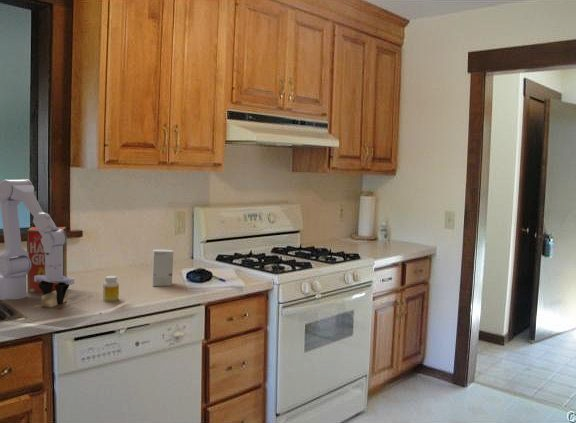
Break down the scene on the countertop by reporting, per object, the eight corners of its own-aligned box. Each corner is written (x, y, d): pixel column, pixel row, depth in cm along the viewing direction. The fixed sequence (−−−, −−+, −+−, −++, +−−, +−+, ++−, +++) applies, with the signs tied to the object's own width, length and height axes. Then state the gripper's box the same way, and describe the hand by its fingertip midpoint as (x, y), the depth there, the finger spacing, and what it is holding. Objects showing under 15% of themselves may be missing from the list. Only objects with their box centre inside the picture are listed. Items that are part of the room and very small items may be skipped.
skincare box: (152, 286, 222) (152, 251, 220) (151, 283, 228) (152, 248, 226) (173, 285, 224) (173, 251, 223) (171, 282, 230) (172, 248, 229)
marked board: (31, 309, 184) (31, 306, 184) (67, 295, 203) (67, 292, 203) (60, 312, 181) (60, 309, 181) (93, 298, 201) (93, 295, 201)
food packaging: (26, 294, 202) (25, 229, 200) (31, 289, 211) (30, 226, 209) (64, 293, 206) (64, 229, 203) (67, 288, 215) (67, 226, 212)
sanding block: (41, 307, 183) (41, 295, 183) (56, 301, 191) (56, 290, 191) (52, 308, 182) (51, 296, 182) (66, 302, 190) (66, 291, 190)
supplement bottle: (100, 302, 196) (100, 276, 195) (113, 299, 200) (114, 274, 199) (107, 305, 192) (107, 279, 191) (121, 302, 196) (121, 277, 195)
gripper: (28, 265, 183) (28, 303, 184) (65, 268, 180) (65, 307, 181) (41, 261, 190) (42, 299, 191) (77, 264, 187) (78, 302, 188)
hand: (54, 303), depth 187 cm, fingers closed on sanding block, 4 cm apart
